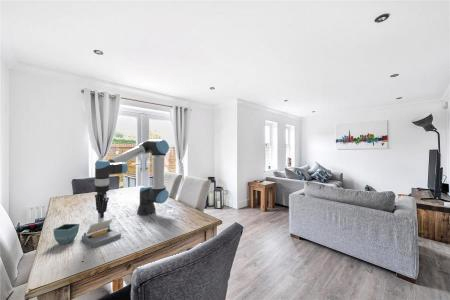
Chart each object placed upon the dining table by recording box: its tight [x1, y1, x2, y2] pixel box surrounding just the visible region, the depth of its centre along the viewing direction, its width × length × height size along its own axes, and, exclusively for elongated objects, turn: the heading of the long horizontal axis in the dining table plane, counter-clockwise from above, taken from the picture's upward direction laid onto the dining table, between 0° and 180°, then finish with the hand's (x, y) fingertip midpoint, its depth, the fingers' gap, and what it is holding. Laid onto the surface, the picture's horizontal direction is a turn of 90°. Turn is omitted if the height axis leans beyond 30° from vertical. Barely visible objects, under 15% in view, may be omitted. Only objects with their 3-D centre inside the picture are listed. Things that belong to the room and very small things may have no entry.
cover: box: [86, 218, 113, 234], centre depth 115 cm, size 8×12×1 cm
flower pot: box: [52, 223, 80, 244], centre depth 109 cm, size 9×9×9 cm
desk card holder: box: [81, 224, 122, 249], centre depth 114 cm, size 16×15×5 cm
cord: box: [91, 229, 107, 238], centre depth 116 cm, size 3×8×3 cm
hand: (100, 222), depth 115 cm, fingers closed
